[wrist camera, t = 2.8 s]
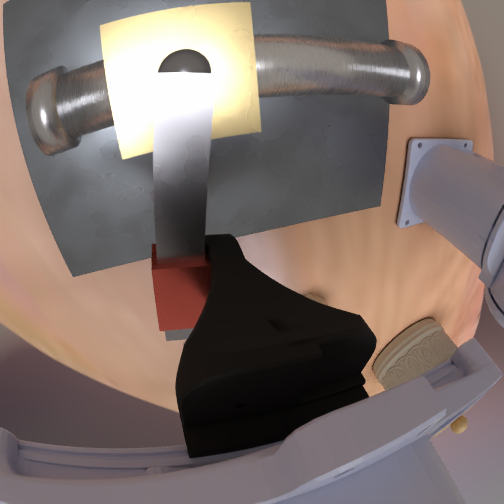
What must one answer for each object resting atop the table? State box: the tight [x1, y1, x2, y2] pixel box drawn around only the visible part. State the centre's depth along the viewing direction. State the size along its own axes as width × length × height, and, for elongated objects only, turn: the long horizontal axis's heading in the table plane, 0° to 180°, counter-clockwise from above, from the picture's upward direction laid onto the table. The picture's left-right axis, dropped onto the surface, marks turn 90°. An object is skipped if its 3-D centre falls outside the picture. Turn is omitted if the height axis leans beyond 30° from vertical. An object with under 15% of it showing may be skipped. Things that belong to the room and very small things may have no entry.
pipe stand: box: [3, 0, 430, 277], centre depth 11 cm, size 22×18×6 cm
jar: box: [373, 319, 472, 438], centre depth 32 cm, size 13×13×18 cm
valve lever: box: [152, 49, 217, 341], centre depth 10 cm, size 11×2×2 cm, turn 173°
